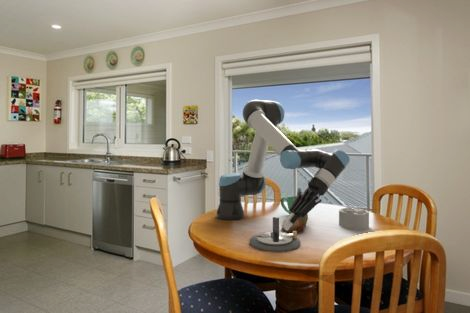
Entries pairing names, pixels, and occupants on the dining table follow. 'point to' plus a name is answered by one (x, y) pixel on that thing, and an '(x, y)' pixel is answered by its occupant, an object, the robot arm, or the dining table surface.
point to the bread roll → (295, 227)
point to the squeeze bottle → (305, 218)
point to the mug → (289, 203)
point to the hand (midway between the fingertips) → (284, 228)
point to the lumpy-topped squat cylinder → (354, 218)
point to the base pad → (281, 248)
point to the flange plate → (270, 240)
